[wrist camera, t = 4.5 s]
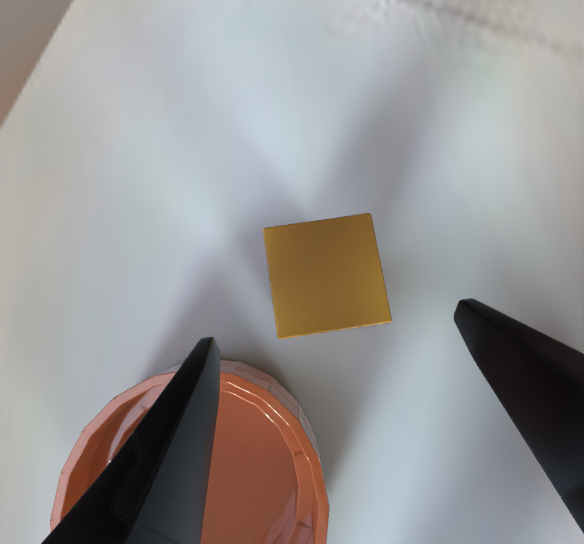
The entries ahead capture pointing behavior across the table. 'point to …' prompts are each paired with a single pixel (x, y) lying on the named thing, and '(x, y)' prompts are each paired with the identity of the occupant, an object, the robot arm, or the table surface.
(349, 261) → the ochre block
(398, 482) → the table surface
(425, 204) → the table surface
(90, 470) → the bowl
